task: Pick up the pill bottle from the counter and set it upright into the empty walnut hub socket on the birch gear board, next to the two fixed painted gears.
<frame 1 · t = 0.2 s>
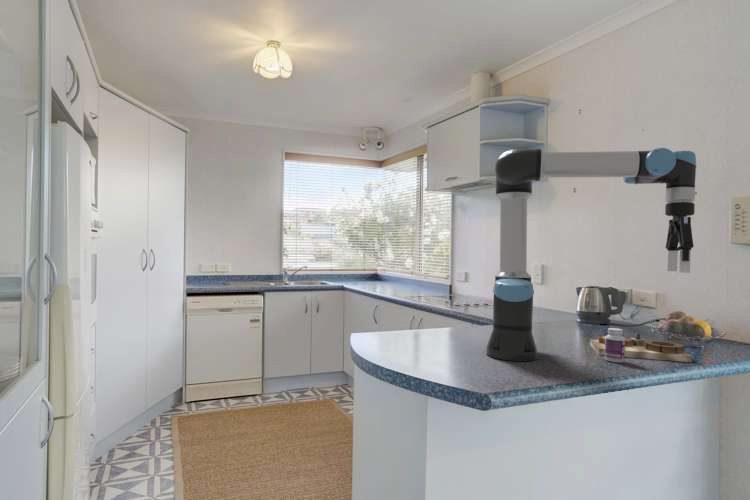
hand: (677, 271, 144), 27 cm above the countertop, fingers open, 13 cm apart
pill bottle: (614, 361, 142), on the countertop
gear board: (637, 352, 155), on the countertop
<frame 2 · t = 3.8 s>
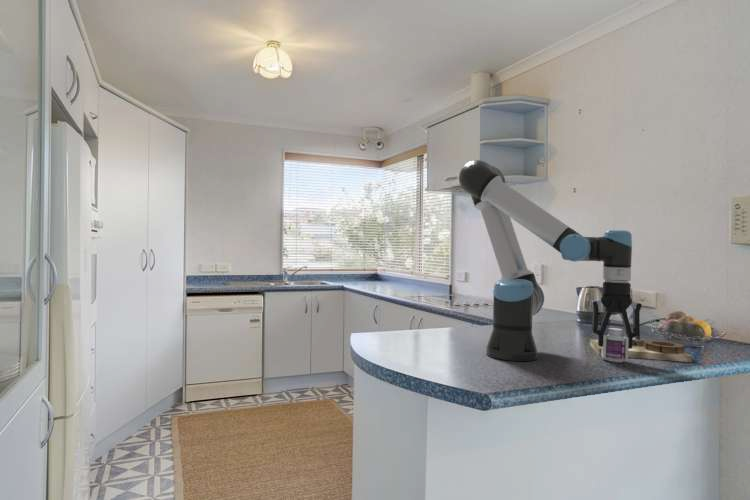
hand: (614, 358, 142), 1 cm above the countertop, fingers closed on pill bottle, 5 cm apart
pill bottle: (614, 361, 142), on the countertop, touching gripper
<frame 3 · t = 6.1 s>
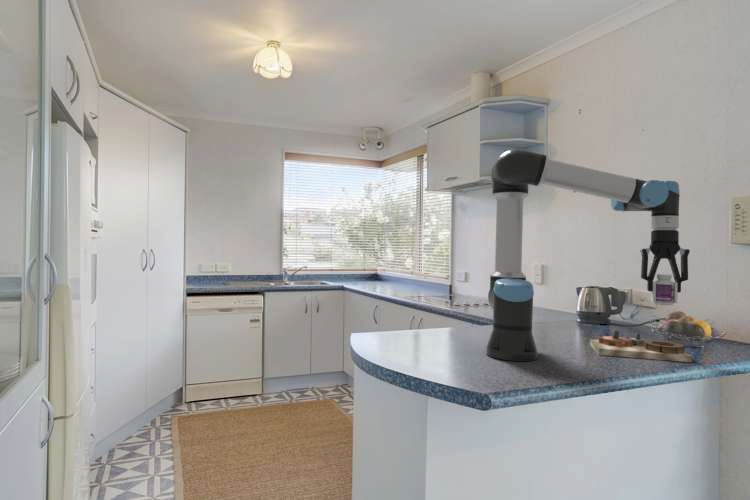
hand: (663, 302, 150), 17 cm above the countertop, fingers closed on pill bottle, 5 cm apart
pill bottle: (663, 305, 150), point 16 cm above the countertop, touching gripper
when the fingers open (5 cm above the countertop, at t = 8.7 s): pill bottle drops 2 cm, resting on gear board.
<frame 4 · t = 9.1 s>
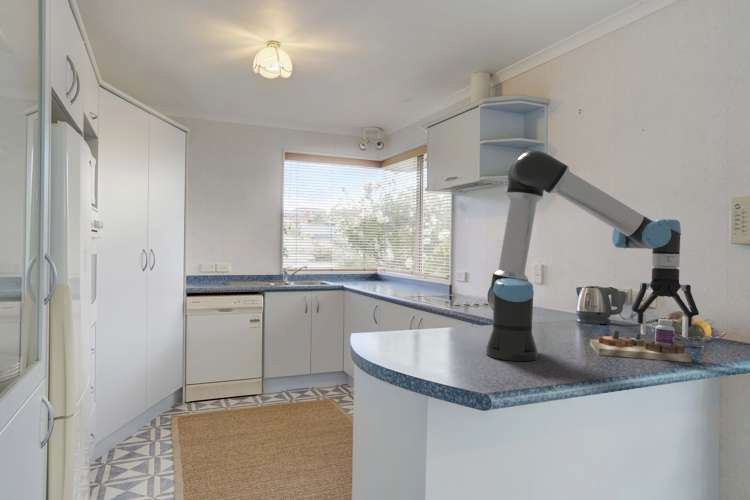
hand: (663, 335, 151), 7 cm above the countertop, fingers open, 11 cm apart
pill bottle: (664, 350, 151), point 2 cm above the countertop, touching gear board
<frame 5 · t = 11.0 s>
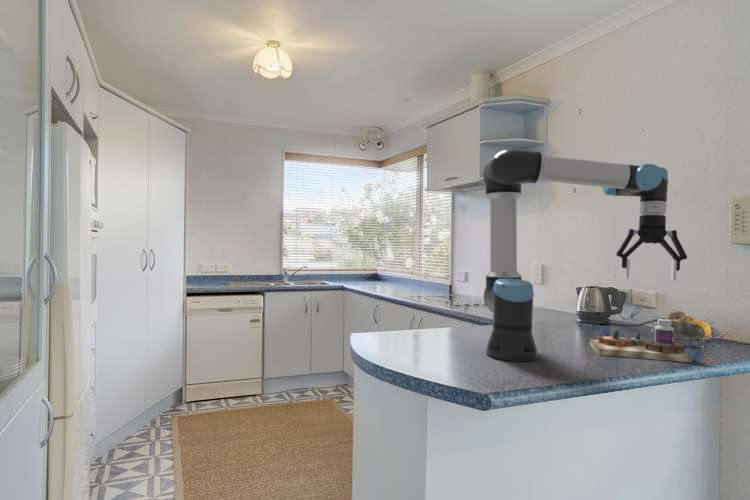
hand: (649, 279, 155), 24 cm above the countertop, fingers open, 13 cm apart
nothing on the countertop moved.
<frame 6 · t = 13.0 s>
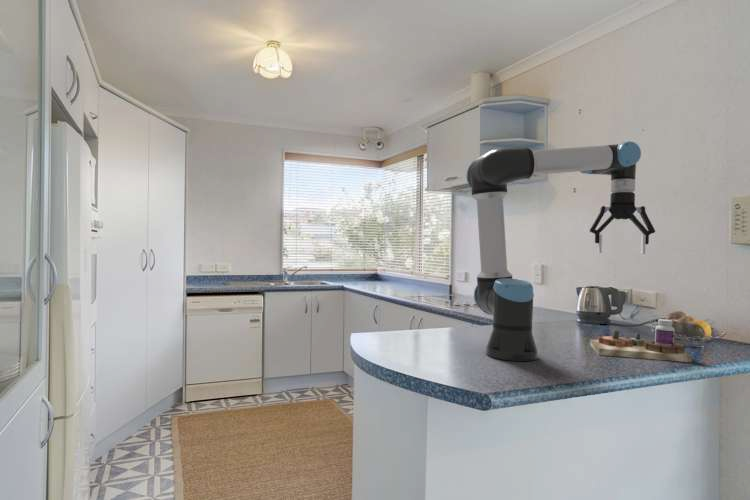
hand: (621, 253, 164), 33 cm above the countertop, fingers open, 13 cm apart
nothing on the countertop moved.
at the end: pill bottle 0.2 cm from the target spot on the gear board, point 1.8 cm above the gear board's base; pill bottle tilted 1°; the gripper is holding nothing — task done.
